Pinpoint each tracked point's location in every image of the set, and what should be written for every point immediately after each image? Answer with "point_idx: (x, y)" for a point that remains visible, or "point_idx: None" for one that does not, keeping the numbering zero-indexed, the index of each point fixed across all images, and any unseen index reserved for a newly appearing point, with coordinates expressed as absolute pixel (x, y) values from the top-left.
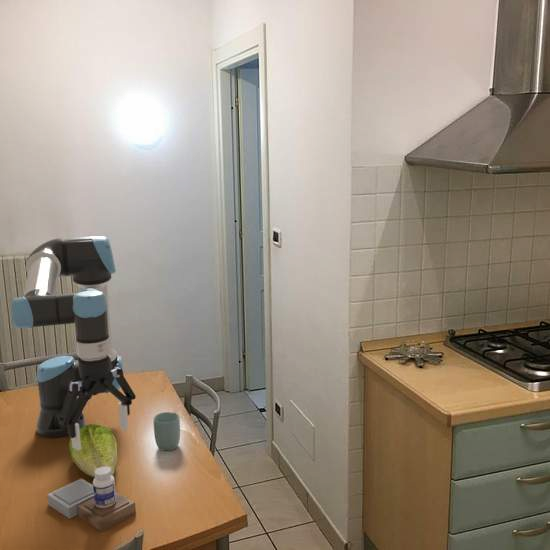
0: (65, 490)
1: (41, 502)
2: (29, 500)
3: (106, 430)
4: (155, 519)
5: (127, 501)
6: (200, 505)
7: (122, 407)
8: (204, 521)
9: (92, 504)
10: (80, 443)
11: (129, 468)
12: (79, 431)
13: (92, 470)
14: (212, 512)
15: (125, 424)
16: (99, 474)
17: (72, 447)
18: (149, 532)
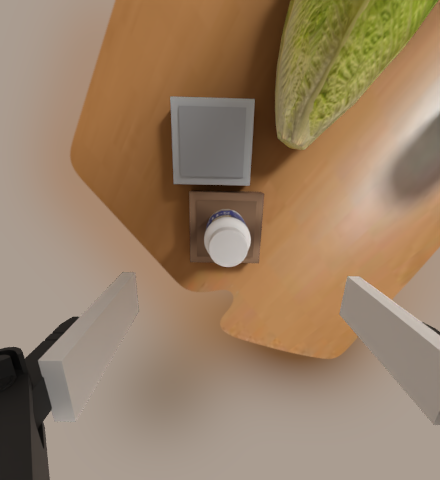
0: (201, 121)
1: (169, 81)
2: (156, 49)
3: None
4: (261, 289)
5: (251, 254)
6: (324, 311)
7: (426, 392)
8: (296, 339)
9: (207, 213)
10: (128, 327)
11: (360, 118)
12: (101, 374)
13: (281, 106)
14: (318, 334)
15: (354, 328)
16: (212, 258)
17: (123, 273)
18: (235, 305)
